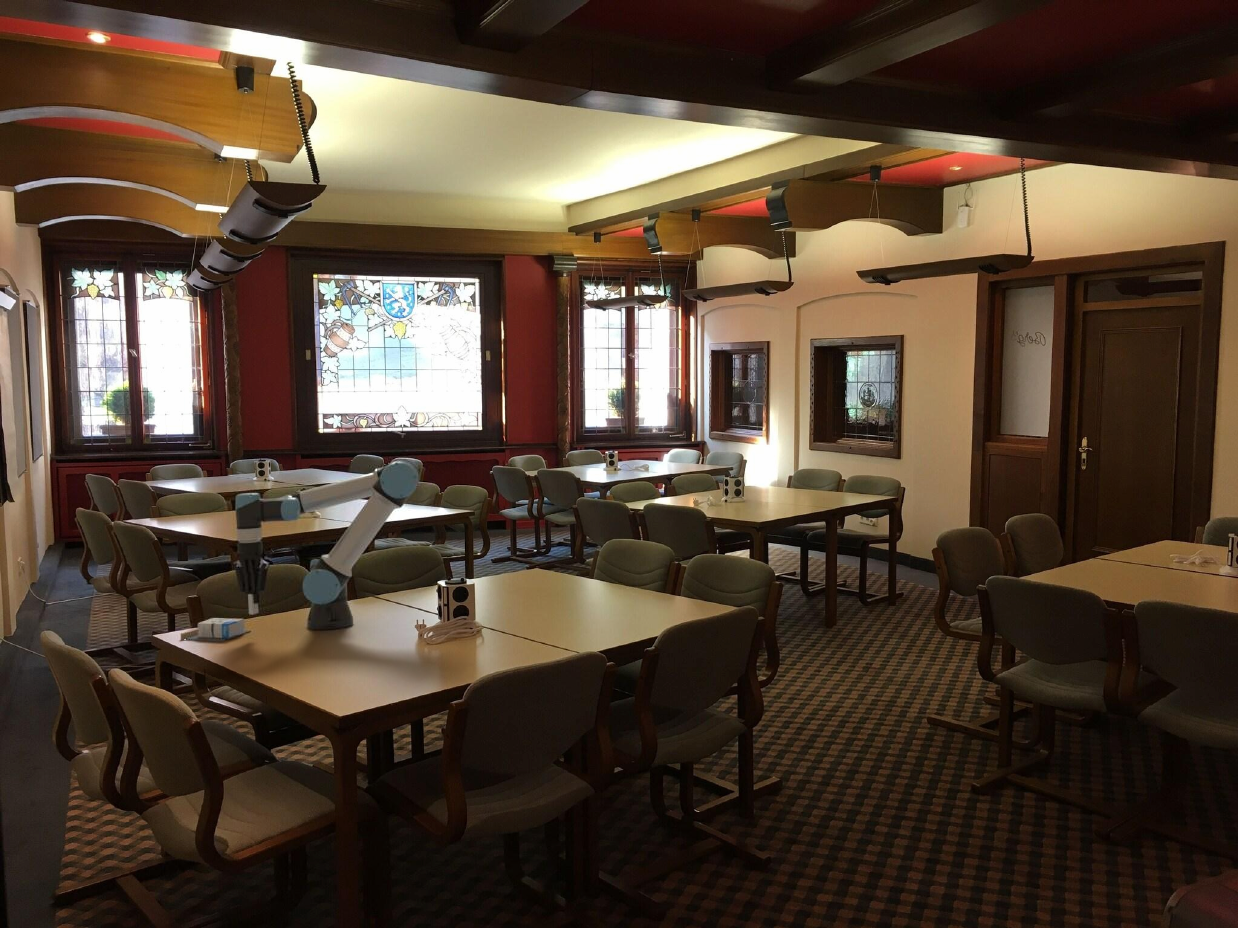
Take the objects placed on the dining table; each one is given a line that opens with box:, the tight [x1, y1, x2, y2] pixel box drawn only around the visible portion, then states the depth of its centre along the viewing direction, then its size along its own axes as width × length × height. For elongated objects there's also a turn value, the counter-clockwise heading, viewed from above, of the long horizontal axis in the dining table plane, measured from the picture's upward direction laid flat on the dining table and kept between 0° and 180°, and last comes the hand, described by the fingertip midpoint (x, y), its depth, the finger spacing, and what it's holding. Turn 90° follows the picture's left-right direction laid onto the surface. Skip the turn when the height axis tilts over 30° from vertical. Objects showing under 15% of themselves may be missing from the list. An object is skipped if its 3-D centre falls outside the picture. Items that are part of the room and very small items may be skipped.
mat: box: [180, 628, 252, 643], centre depth 312 cm, size 15×15×2 cm
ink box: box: [197, 617, 246, 639], centre depth 310 cm, size 9×5×12 cm
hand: (253, 613), depth 307 cm, fingers closed
